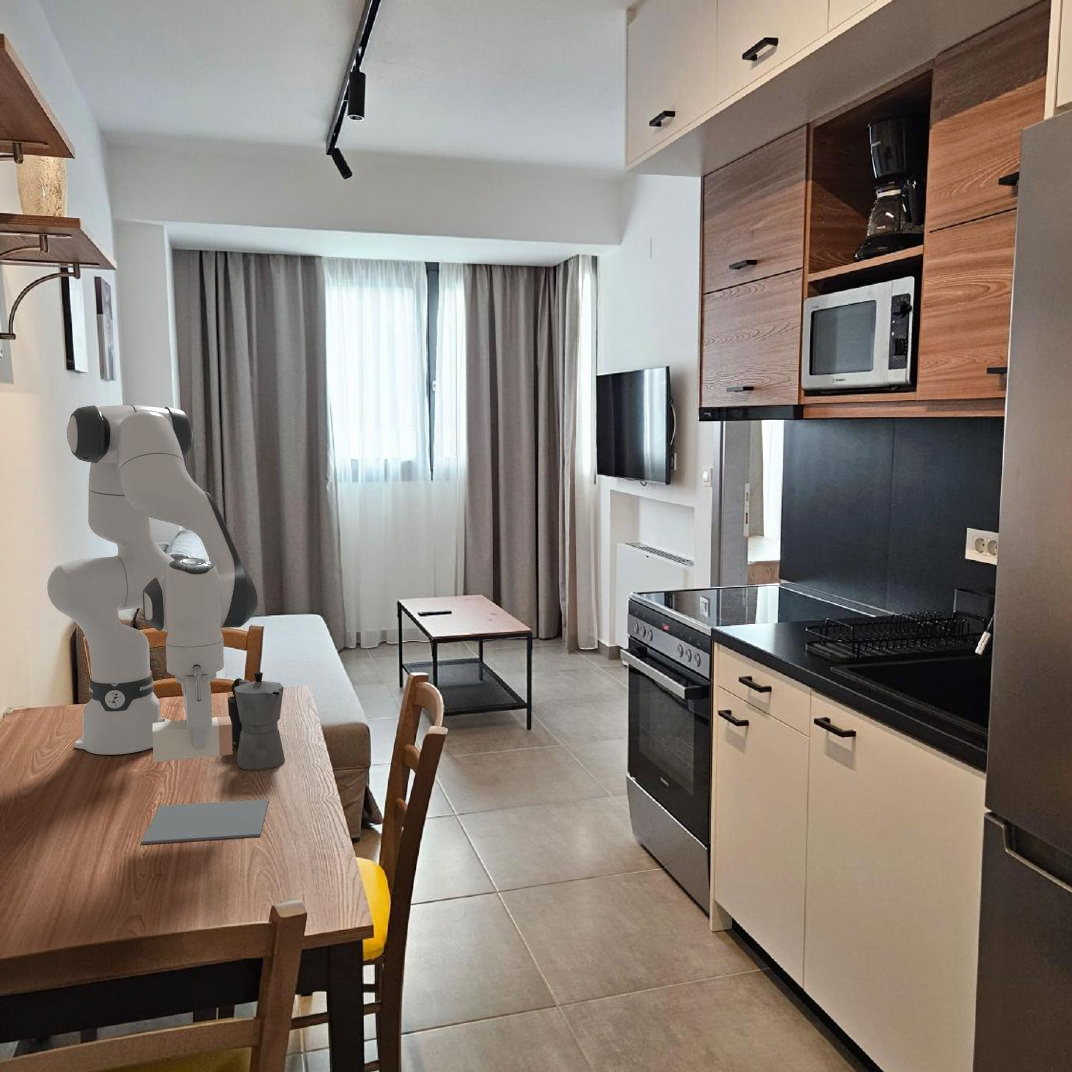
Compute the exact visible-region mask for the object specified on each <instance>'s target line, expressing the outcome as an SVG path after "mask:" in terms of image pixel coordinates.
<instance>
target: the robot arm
mask: <svg viewBox="0 0 1072 1072" xmlns="http://www.w3.org/2000/svg"><path fill="white" fill-rule="evenodd" d="M68 420H69V421H68V423H67V426H66V439H67V444H68V446H69V449H70V451H71V453H72V455H73V456H75V457H76V459H78V460H79V461H81V462H82V461H83V462H87V463H90V466H89V474H88V497H87V498H88V503H87V504H88V505H87V506H88V509H87V511H88V512H87V513H88V514H87V515H88V517H87V520H88V521H87V523H88V526H89V528H90V529H91V531H92V532H93V533H94V534H95V535H96V536H97V537H99V538H101V539H104V540H105V541H107V542H111V543H113V544H116V546H117V555H114V556H103V557H102V556H101V557H90V558H80V559H77V560H73V561H69V562H65V563H62V564H58V565H56V567H54V568H53V570H52V572H51V573H50V574H49V577H48V581H47V595H48V596H47V597H48V598H49V600H50V602H51V604H52V605H53V607H55V609H57V610H58V611H59V612H61V613H62V614H64V615H66V616H67V617H69V618H70V619H71V620H73V621H74V622H75V623H76V624H77V626H79V628H80V629H81V632H82V633H83V635H84V637H85V638H86V642H87V645H88V652H89V660H90V673H91V679H89V686H88V691H89V698H91V699H89V701H88V702H87V703H86V704H85V705H84V706H83V707H82V724H81V725H82V732H81V733H82V736H81V738H79V739H77V740H76V741H74V748H75V749H76V748H77V749H80V750H85V751H86V752H88V753H91V754H96V755H107V756H108V755H113V756H114V755H125V754H132V753H137V752H142V751H146V750H149V749H153V723H159V722H170V721H172V720H170V719H168V718H164V717H161V708H160V707H161V706H160V700H159V699H158V697H157V696H156V694H155V693H154V690H155V689H154V688H155V687H154V684H155V683H154V682H155V681H154V679H153V671H152V670H151V667H150V666H151V665H150V664H151V663H150V661H151V660H150V642H149V639H148V637H147V636H146V634H145V633H143V632H142V631H141V630H139V629H136V628H134V627H133V626H130V625H126V624H123V623H122V622H121V621H120V616H119V612H120V611H124V610H125V611H126V610H132V609H133V610H134V609H141V608H142V610H143V612H142V613H143V620H144V622H146V624H148V625H149V626H150V627H151V628H152V629H155V630H156V631H159V632H167V635H166V638H165V639H166V640H165V657H166V661H165V662H166V672H167V673H168V674H170V675H174V678H175V679H174V680H175V682H176V683H178V684H180V685H181V686H180V687H181V691H182V693H181V694H182V697H183V704H184V711H185V712H184V713H185V718H186V719H185V720H186V721H187V727H188V730H189V731H192V735H193V748H194V749H195V750H198V749H204V748H205V733H206V730H207V729H210V728H211V727H212V718H213V708H212V688H211V682H213V681H215V680H216V679H217V672H220V671H222V670H223V669H224V668H225V651H224V649H225V648H224V646H225V645H224V635H223V632H222V629H223V628H225V629H227V628H229V629H230V628H241V627H242V626H244V625H245V624H246V623H247V622H248V621H250V619H251V618H252V617H253V616H254V614H255V613H256V612H257V610H258V603H259V600H258V593H257V588H256V586H255V583H254V581H253V578H252V577H251V576H250V574H249V572H248V571H247V569H246V568H245V566H244V564H243V562H242V559H241V557H240V555H239V553H238V550H237V548H236V545H235V543H234V541H233V539H232V536H231V534H230V531H229V529H228V527H227V525H226V522H225V520H224V517H223V515H222V514H221V511H220V509H219V507H218V505H217V502H216V501H215V499H214V498H213V496H212V495H211V493H209V492H207V491H206V490H204V489H202V487H200V486H198V484H197V483H196V482H195V481H194V480H193V478H192V477H191V476H190V474H189V472H188V470H187V468H186V463H185V457H186V456H187V455H188V454H189V453H190V451H191V449H192V443H193V429H192V423H191V420H190V418H189V417H188V415H187V414H186V412H185V411H184V410H181V409H177V408H174V407H169V406H164V407H158V406H151V405H143V404H130V405H123V404H122V405H121V404H120V405H105V406H104V405H103V406H96V405H93V404H92V405H87V406H81V407H78V408H76V409H75V410H74V411H73V412H72V413H71V415H70V417H69V419H68ZM150 518H151V519H152V520H153V519H154V520H156V521H157V520H158V521H163V522H166V523H170V524H173V525H177V526H179V527H181V528H185V529H187V530H189V531H191V532H192V533H195V534H196V536H198V538H199V539H200V541H201V542H202V544H203V547H204V549H205V552H206V555H207V557H208V559H206V558H199V557H183V558H178V559H174V558H173V557H172V556H171V555H169V554H168V553H166V552H165V551H164V550H163V549H161V547H160V546H159V545H158V543H157V542H156V540H155V537H154V535H153V533H152V528H151V523H150Z"/></svg>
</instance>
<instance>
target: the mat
mask: <svg viewBox="0 0 1072 1072" xmlns="http://www.w3.org/2000/svg"><path fill="white" fill-rule="evenodd" d="M269 801H270V800H269V799H267V798H266V799H250V800H249V799H248V800H235V801H233V800H232V801H218V802H217V801H215V802H203V803H202V802H200V803H186V804H183V803H182V804H169V805H159V807H158V809H157V810H156V812H155V814H154V816H153V818H152V820H151V821H150V824H149V826H148V828H147V829H146V832H145V833H144V835H143V837H142V839H141V841H140V845H146V844H149V845H150V844H163V843H175V842H176V843H177V842H193V841H207V840H224V839H236V838H237V839H238V838H239V839H240V838H253V837H255V838H256V837H261V836H262V835H261V834H262V831H263V827H264V823H265V818H266V814H267V811H268V806H269V803H270V802H269Z"/></svg>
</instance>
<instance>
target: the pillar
mask: <svg viewBox="0 0 1072 1072" xmlns="http://www.w3.org/2000/svg"><path fill="white" fill-rule="evenodd" d="M152 752H153V753H152V754H153V755H152V758H153V763H160V762H161V763H162V762H171V761H172V762H173V761H178V760H179V761H180V760H182V761H183V760H191V759H199V758H200V759H201V758H207V757H208V758H209V757H210V758H211V757H219V756H227V755H228V756H229V755H233V747H232V723H231V720H230V716H229V715H228V716H227V715H225V716H216V717H215V716H214V717H213V716H212V727H211V728H210V729H207V730H206V733H205V748H204V749H198V750H195V749H194V748H193V735H192V731H189V730H188V727H187V721H186V719H183V720H171V721H170V722H159V723H153V747H152Z"/></svg>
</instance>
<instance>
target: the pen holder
mask: <svg viewBox="0 0 1072 1072" xmlns="http://www.w3.org/2000/svg"><path fill="white" fill-rule="evenodd" d="M227 709H228V716H230V720H231V723H232V749H235V750H237V751H238V747H239V740H240V733H241V731H242V723H241V721H240V719H239V718H238V714H237V710H236V706H235V701H234V696H233V695H231V696H229V697H228V698H227Z"/></svg>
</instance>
